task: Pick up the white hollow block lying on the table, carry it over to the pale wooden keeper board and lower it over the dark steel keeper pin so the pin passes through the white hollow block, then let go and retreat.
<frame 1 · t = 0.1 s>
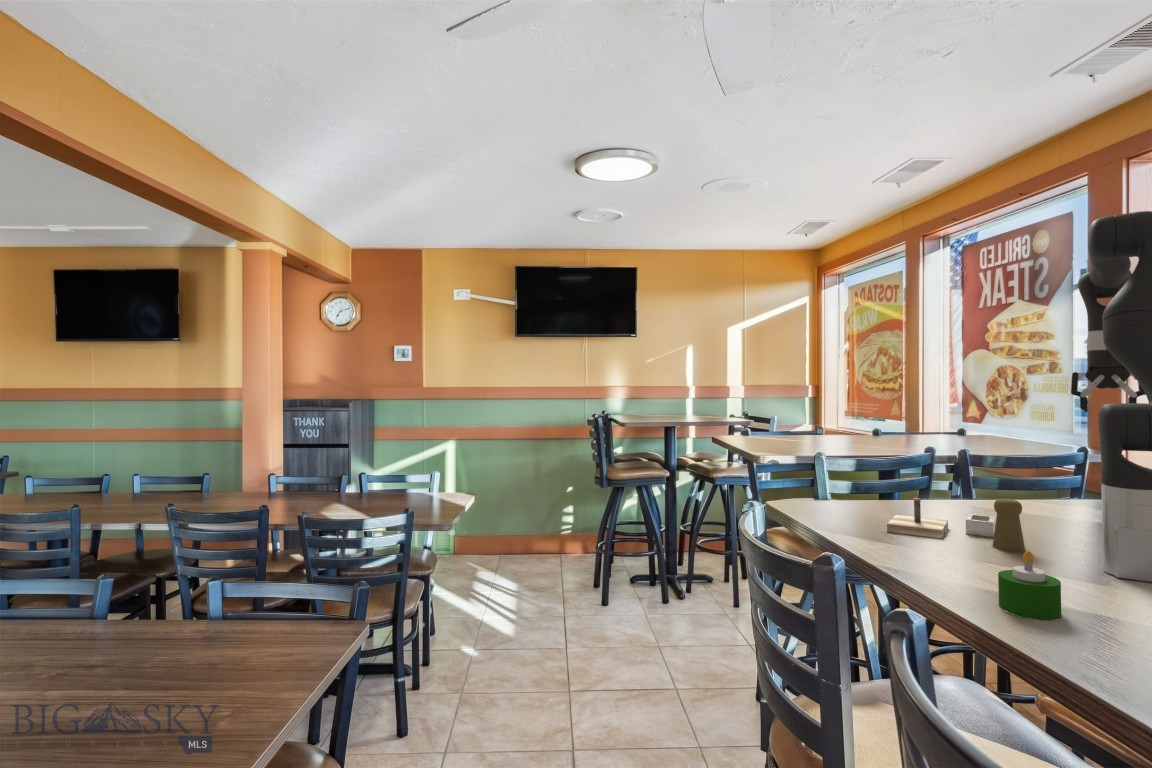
hand: (1107, 412, 150), 29 cm above the table, tool pointing down, fingers open, 8 cm apart
cork: (1008, 548, 134), on the table
candle: (1029, 611, 98), on the table
keeper: (917, 529, 151), on the table
white hollow block: (980, 532, 148), on the table
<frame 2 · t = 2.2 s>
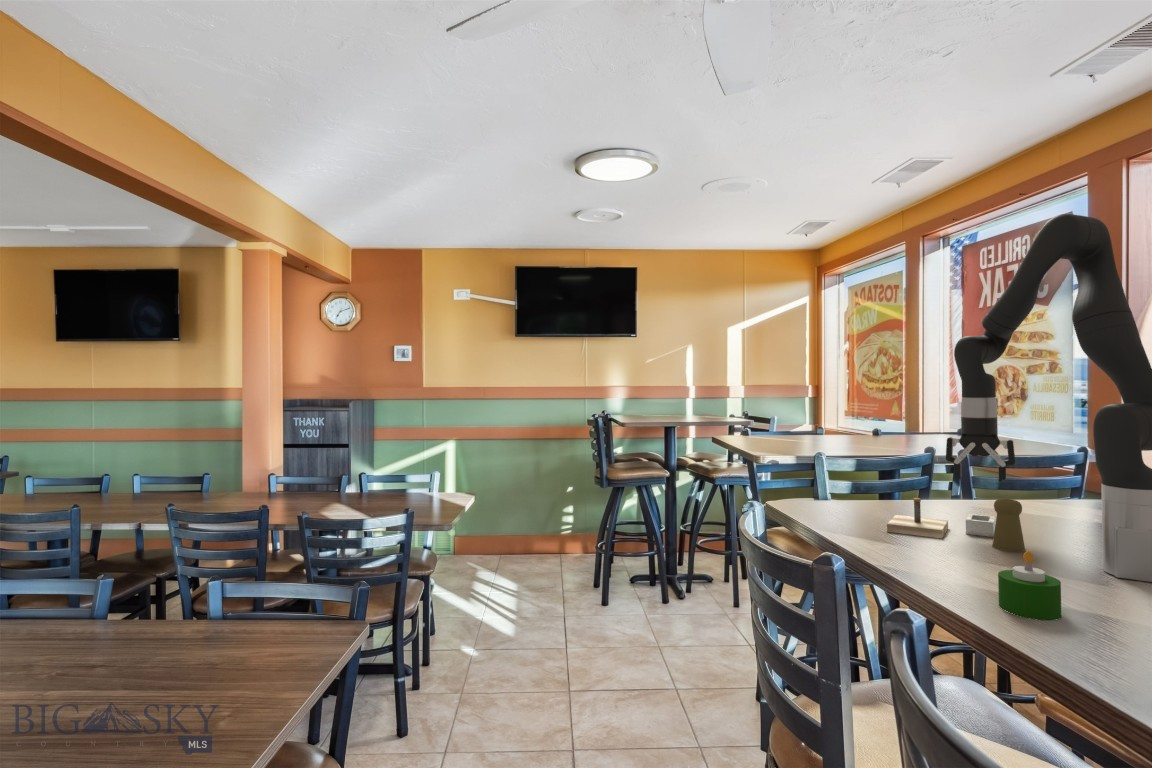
hand: (979, 480, 148), 13 cm above the table, tool pointing down, fingers open, 8 cm apart
nothing on the table moved.
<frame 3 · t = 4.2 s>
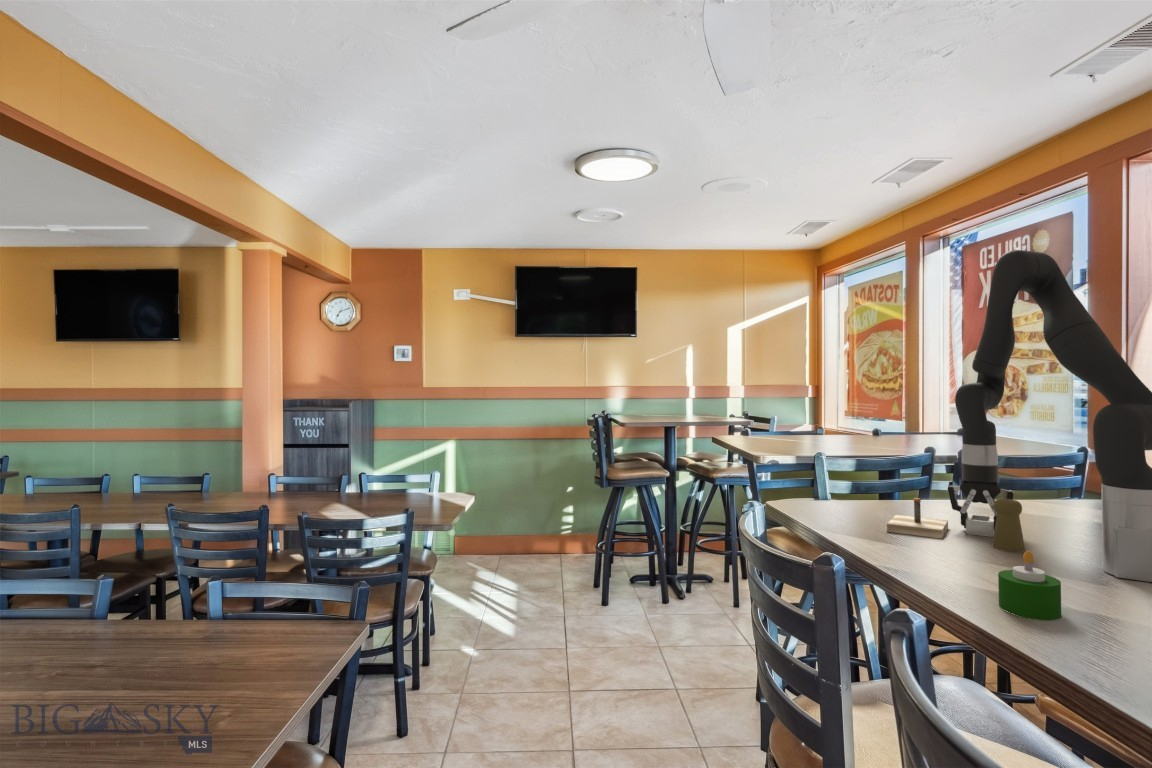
hand: (980, 529, 148), 1 cm above the table, tool pointing down, fingers closed on white hollow block, 5 cm apart
white hollow block: (980, 531, 148), on the table, touching gripper
everything else where it was.
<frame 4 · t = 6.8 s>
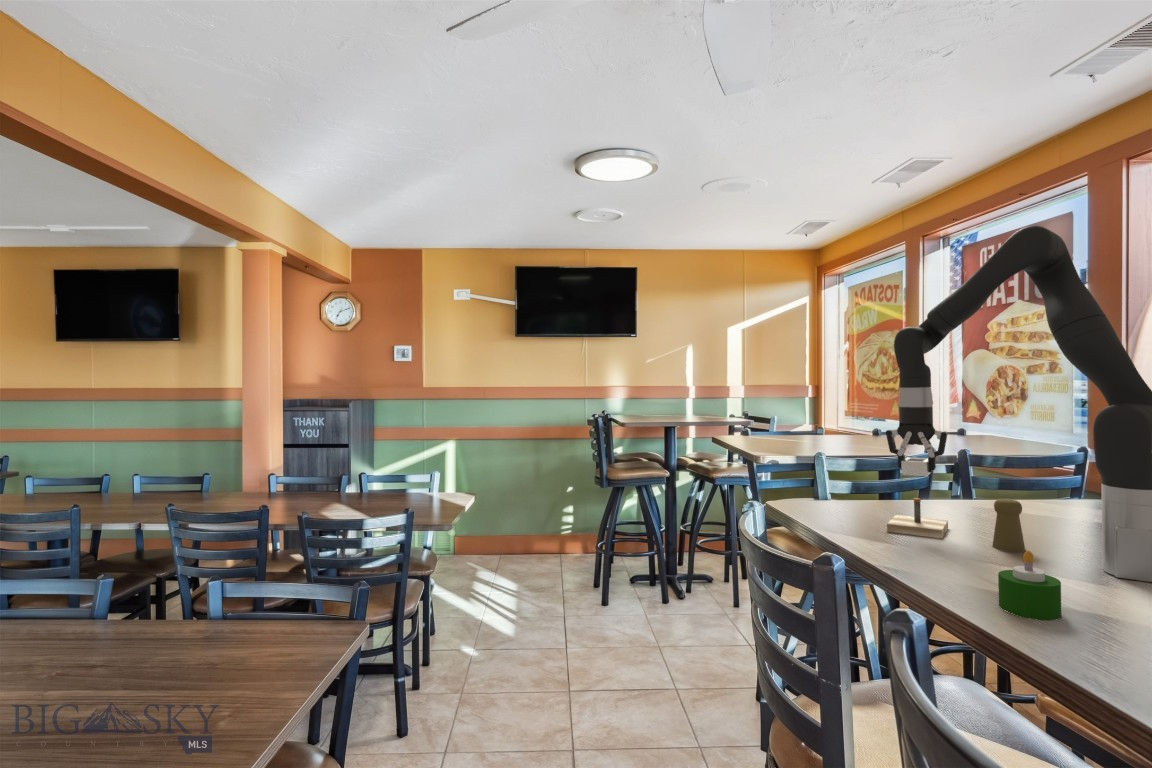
hand: (916, 470, 151), 15 cm above the table, tool pointing down, fingers closed on white hollow block, 5 cm apart
white hollow block: (916, 473, 151), point 14 cm above the table, touching gripper
everything else where it was.
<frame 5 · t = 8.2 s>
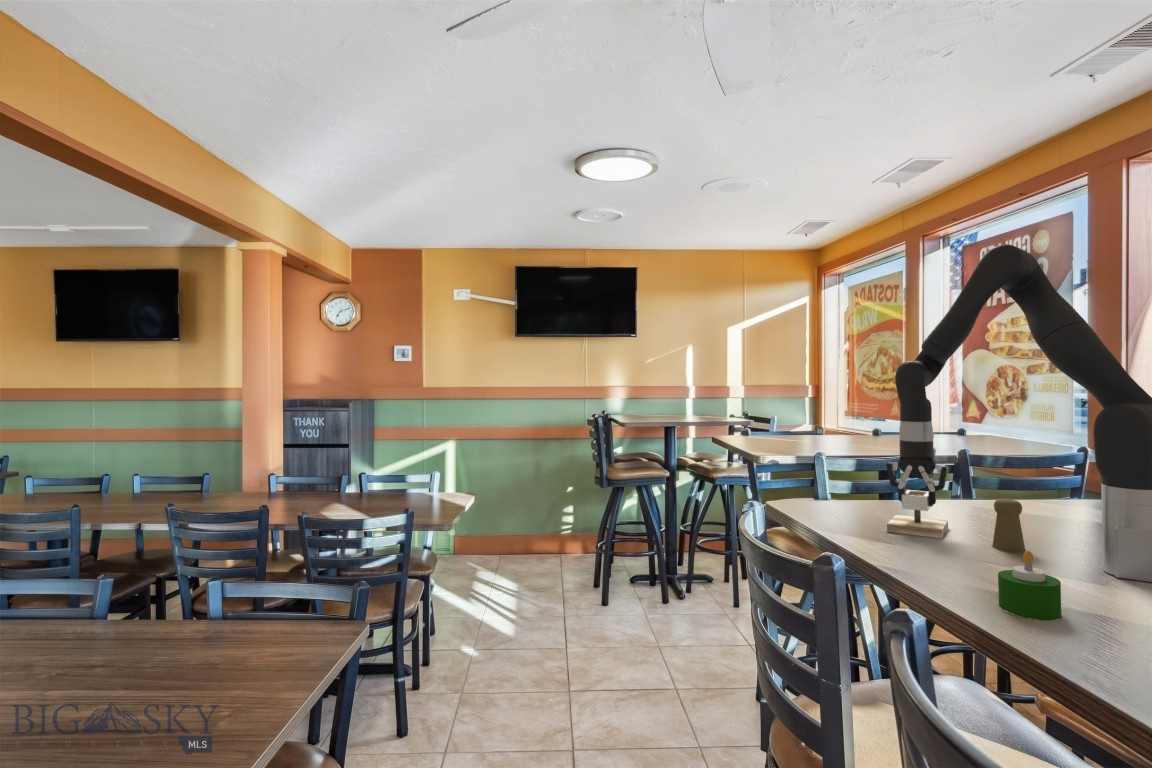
hand: (917, 504, 151), 7 cm above the table, tool pointing down, fingers closed on white hollow block, 5 cm apart
white hollow block: (917, 506, 151), point 6 cm above the table, touching gripper
everything else where it was.
when the fingers open (5 cm above the table, at t = 9.5 s): white hollow block drops 2 cm, resting on keeper.
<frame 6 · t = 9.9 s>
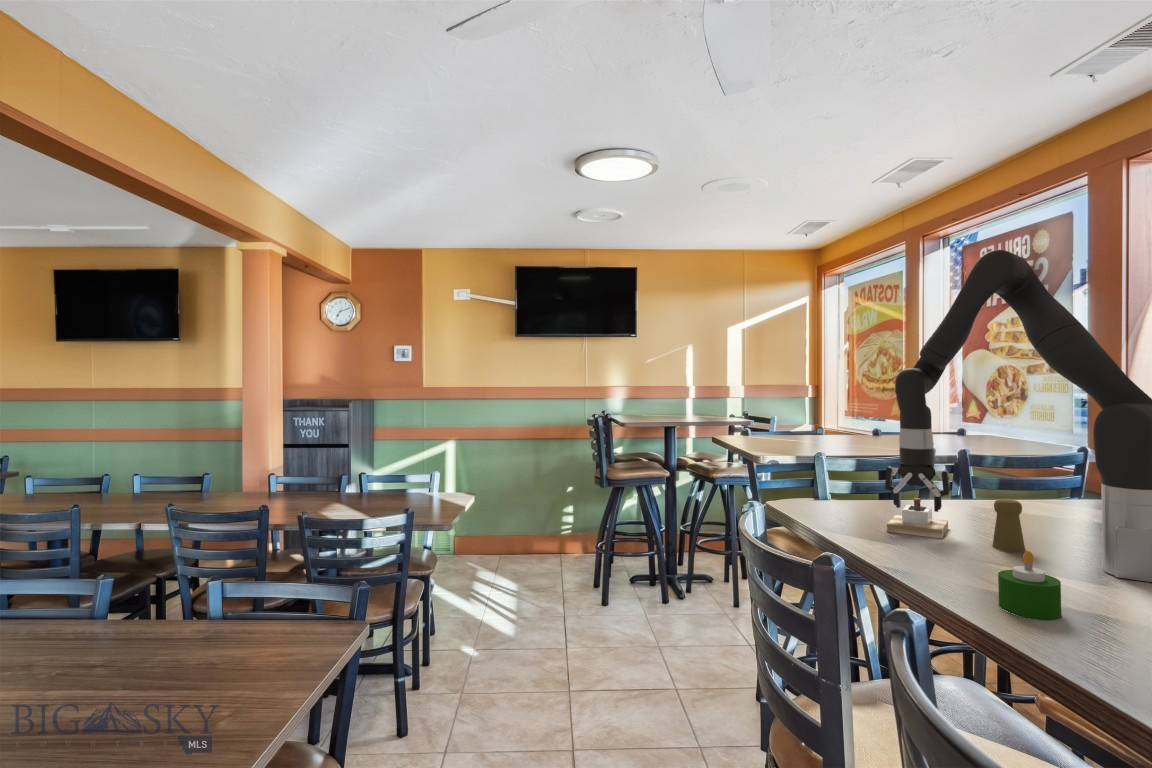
hand: (917, 509, 151), 5 cm above the table, tool pointing down, fingers open, 8 cm apart
white hollow block: (917, 522, 151), point 2 cm above the table, touching keeper
everything else where it was.
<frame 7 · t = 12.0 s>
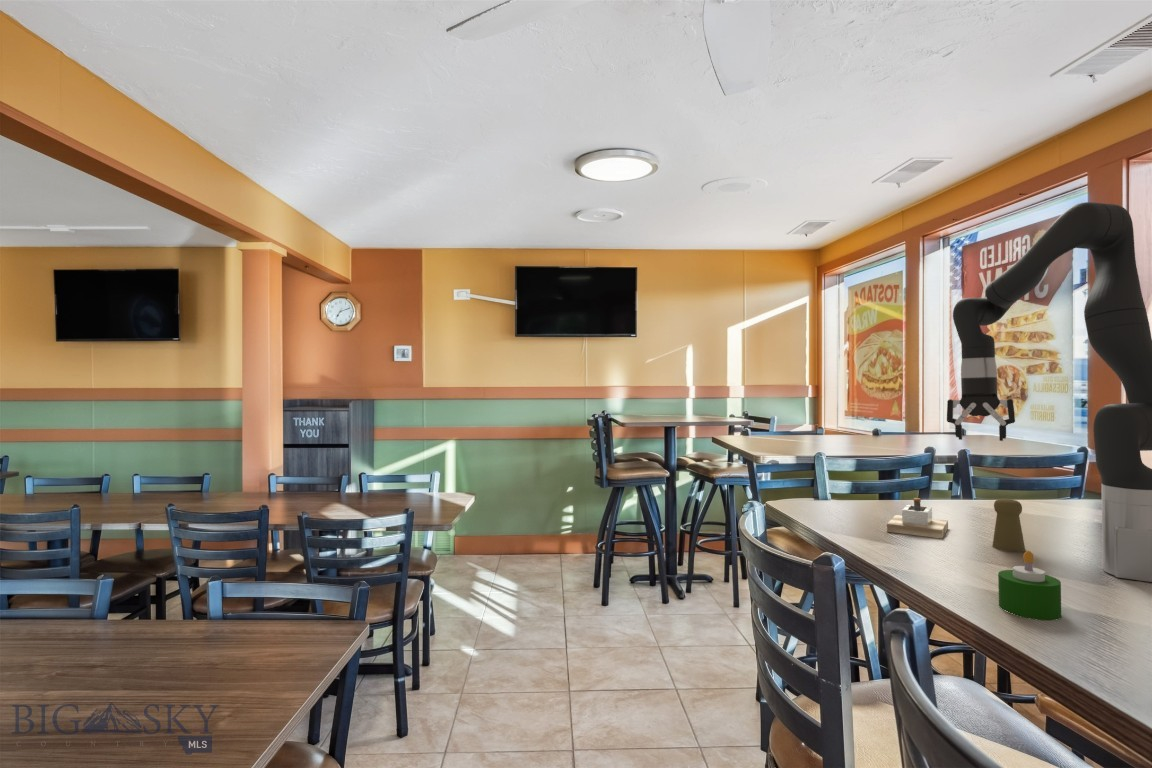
hand: (980, 440, 149), 23 cm above the table, tool pointing down, fingers open, 8 cm apart
nothing on the table moved.
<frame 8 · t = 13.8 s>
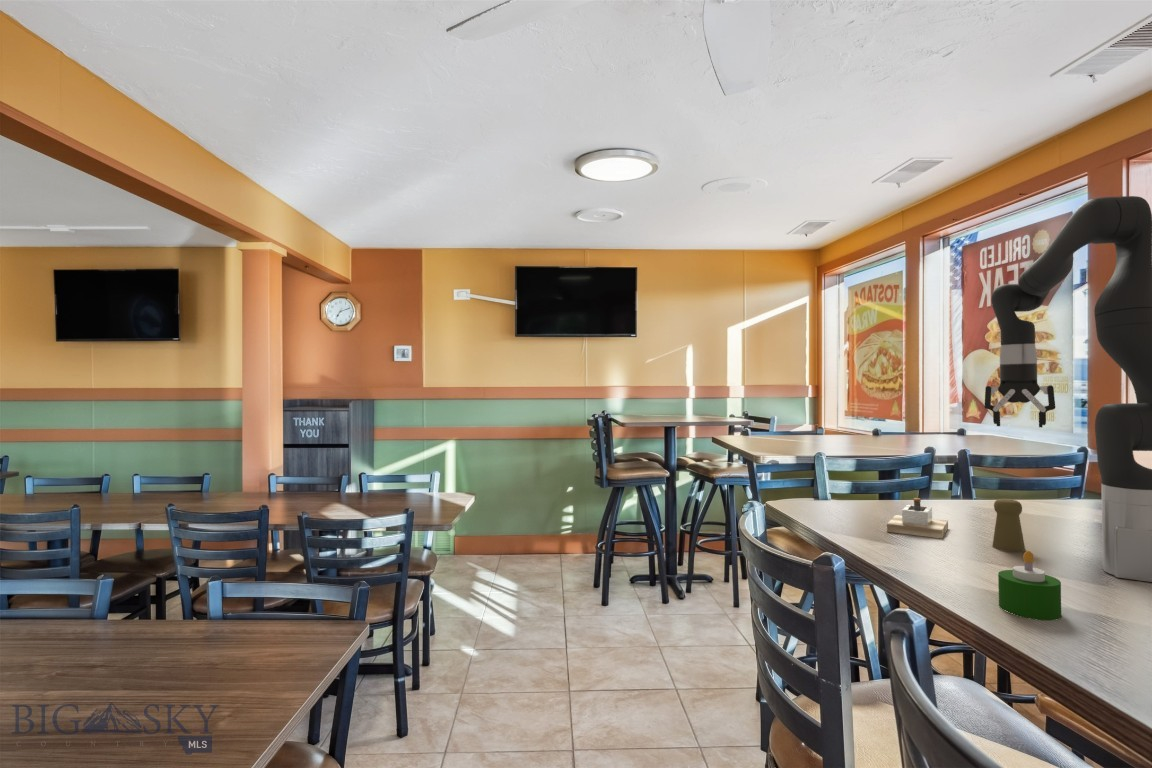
hand: (1019, 426, 149), 26 cm above the table, tool pointing down, fingers open, 8 cm apart
nothing on the table moved.
at the end: white hollow block 0.1 cm off-centre on the keeper, point 2.0 cm above the keeper's base; white hollow block tilted 0°; the gripper is holding nothing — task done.
